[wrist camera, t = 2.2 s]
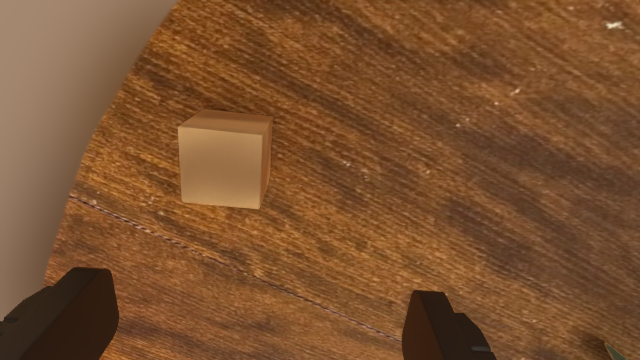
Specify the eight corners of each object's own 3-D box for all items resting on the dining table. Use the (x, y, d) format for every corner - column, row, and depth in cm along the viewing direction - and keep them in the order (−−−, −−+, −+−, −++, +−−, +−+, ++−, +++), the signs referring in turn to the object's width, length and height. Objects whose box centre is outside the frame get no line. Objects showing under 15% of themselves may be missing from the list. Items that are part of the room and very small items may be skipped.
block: (203, 108, 22) (176, 126, 18) (272, 115, 22) (262, 135, 18) (204, 173, 24) (181, 202, 20) (269, 179, 24) (259, 209, 20)
